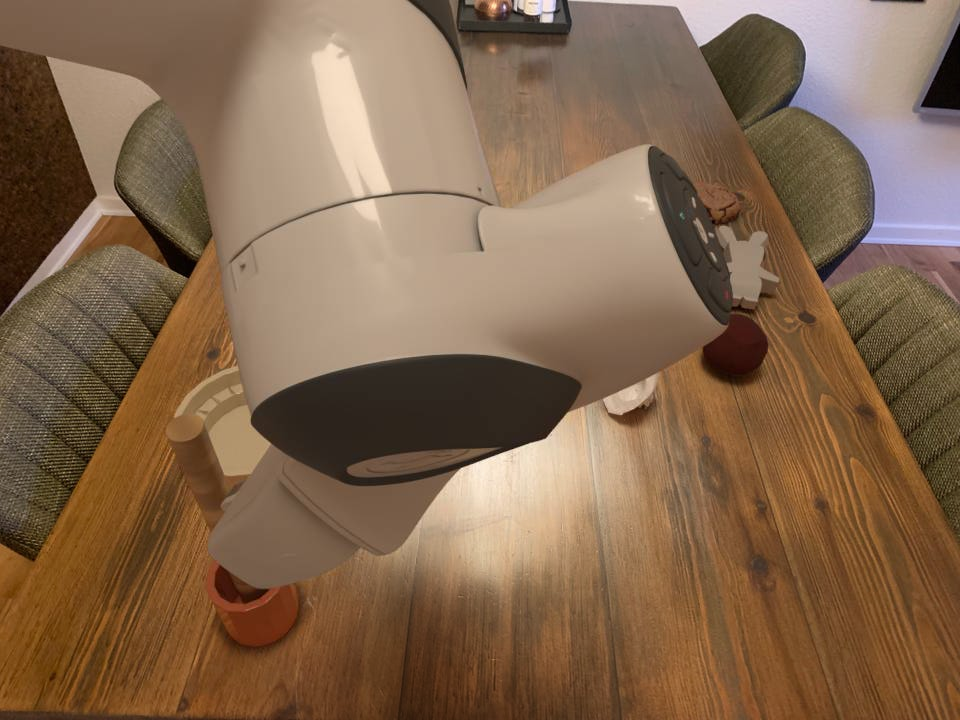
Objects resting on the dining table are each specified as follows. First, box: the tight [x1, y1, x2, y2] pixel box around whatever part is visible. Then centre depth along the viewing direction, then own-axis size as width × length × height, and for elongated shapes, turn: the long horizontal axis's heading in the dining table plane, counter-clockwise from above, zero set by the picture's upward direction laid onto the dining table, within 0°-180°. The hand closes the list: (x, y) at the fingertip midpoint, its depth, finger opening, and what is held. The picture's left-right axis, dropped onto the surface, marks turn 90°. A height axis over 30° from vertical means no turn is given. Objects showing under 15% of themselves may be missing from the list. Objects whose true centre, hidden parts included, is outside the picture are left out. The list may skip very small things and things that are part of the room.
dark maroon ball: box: [702, 313, 769, 377], centre depth 87 cm, size 7×8×7 cm
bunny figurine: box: [715, 225, 780, 310], centre depth 100 cm, size 10×5×15 cm
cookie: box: [691, 179, 741, 225], centre depth 114 cm, size 10×11×3 cm
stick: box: [165, 414, 269, 604], centre depth 56 cm, size 2×2×26 cm
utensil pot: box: [205, 559, 300, 648], centre depth 63 cm, size 7×7×7 cm
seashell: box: [602, 372, 660, 416], centre depth 83 cm, size 8×5×8 cm
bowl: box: [173, 365, 271, 491], centre depth 77 cm, size 16×16×5 cm
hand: (277, 444), depth 44 cm, fingers open, 8 cm apart
